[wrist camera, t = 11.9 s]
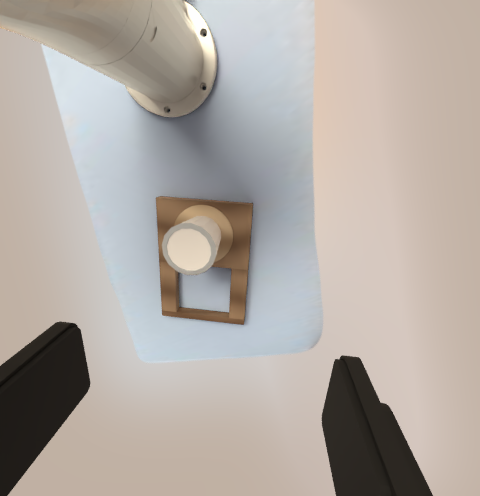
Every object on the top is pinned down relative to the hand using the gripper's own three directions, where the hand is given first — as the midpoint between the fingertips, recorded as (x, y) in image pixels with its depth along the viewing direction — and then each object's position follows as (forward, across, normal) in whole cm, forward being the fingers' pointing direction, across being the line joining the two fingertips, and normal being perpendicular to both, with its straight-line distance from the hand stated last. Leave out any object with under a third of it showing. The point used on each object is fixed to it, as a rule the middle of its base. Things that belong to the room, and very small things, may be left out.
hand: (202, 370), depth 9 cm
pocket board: (+30, +7, +9) cm, 32 cm away
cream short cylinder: (+29, +7, +4) cm, 30 cm away
